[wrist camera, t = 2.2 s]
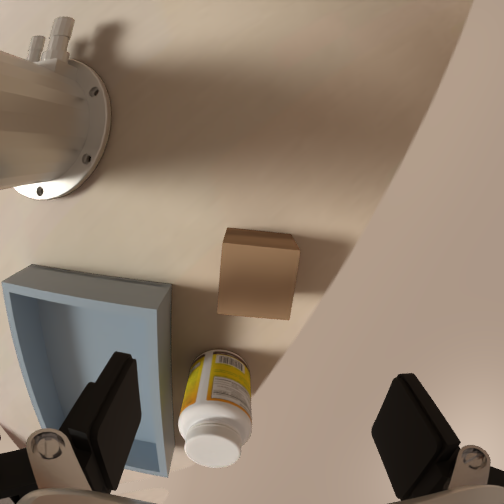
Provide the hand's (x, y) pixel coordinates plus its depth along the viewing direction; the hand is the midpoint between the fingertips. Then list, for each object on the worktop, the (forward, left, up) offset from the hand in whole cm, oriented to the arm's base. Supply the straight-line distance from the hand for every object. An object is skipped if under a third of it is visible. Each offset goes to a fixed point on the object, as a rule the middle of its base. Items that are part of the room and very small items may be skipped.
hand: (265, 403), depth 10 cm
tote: (+13, -14, -16) cm, 25 cm away
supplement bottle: (+11, -2, -16) cm, 20 cm away
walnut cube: (0, 0, -16) cm, 16 cm away
